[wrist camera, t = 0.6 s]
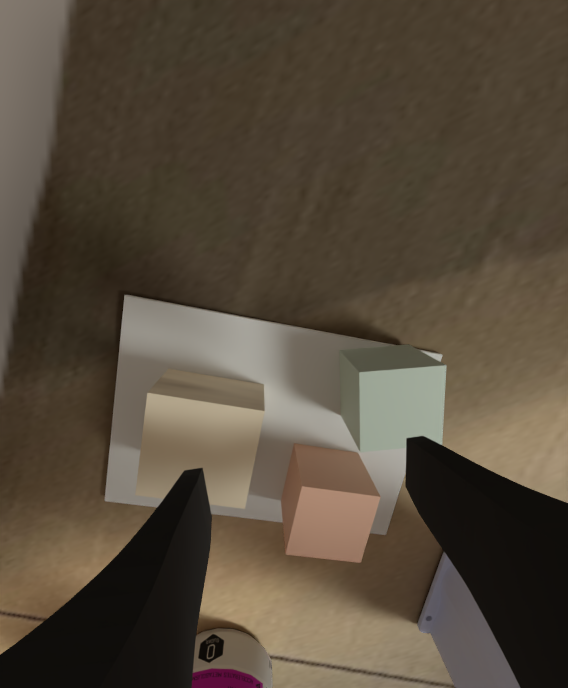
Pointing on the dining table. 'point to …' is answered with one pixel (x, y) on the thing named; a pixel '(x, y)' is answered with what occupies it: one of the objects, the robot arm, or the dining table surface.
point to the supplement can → (230, 661)
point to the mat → (251, 366)
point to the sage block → (391, 396)
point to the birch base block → (201, 435)
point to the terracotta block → (327, 504)
